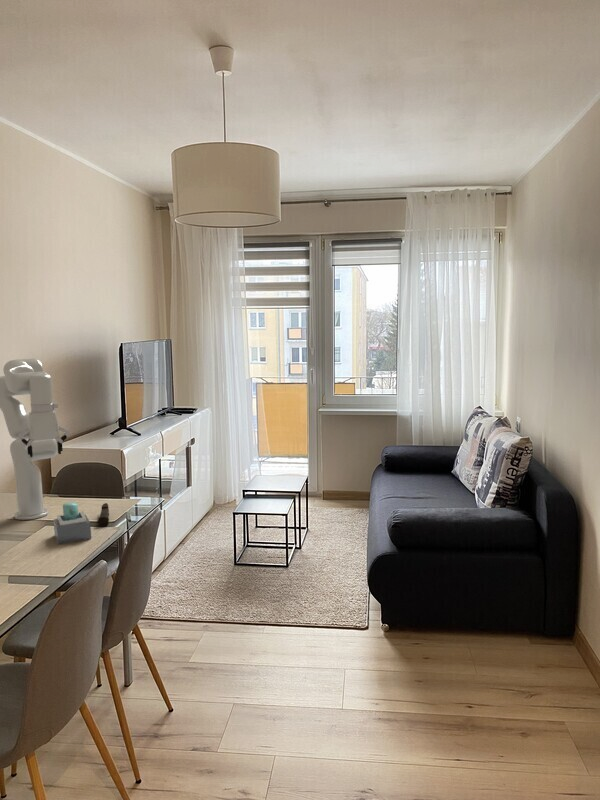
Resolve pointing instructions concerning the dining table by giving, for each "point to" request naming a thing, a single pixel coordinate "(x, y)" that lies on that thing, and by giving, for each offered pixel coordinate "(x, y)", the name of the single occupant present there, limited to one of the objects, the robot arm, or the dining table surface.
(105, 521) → the hand tool
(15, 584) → the dining table surface
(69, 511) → the teal toy block
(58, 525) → the grey plastic box
